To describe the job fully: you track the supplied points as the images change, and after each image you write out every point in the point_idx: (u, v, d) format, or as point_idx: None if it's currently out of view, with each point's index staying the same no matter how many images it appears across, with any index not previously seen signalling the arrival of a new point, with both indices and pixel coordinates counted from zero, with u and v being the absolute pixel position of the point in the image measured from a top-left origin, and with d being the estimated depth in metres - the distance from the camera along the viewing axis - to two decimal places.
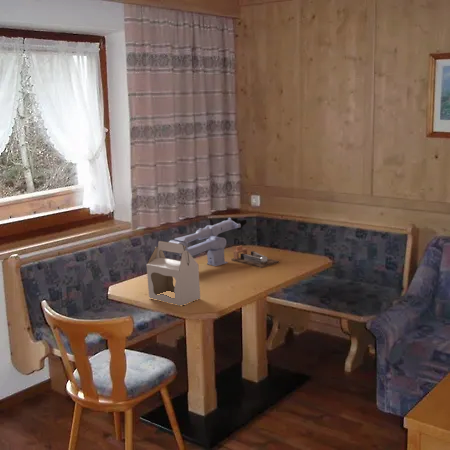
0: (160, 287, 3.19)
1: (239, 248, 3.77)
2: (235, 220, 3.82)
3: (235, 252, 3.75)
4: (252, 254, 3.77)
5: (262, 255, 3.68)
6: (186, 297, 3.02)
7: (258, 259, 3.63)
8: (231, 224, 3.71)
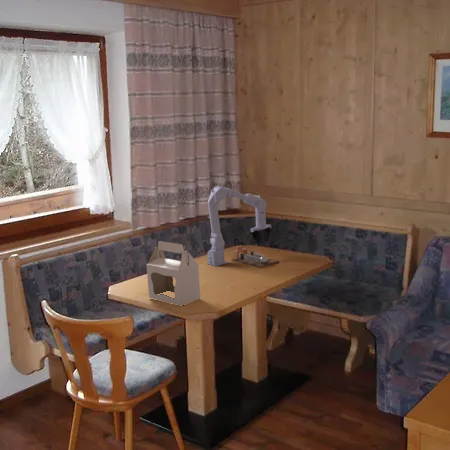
0: (160, 287, 3.19)
1: (239, 248, 3.77)
2: (265, 238, 3.80)
3: (235, 252, 3.75)
4: (252, 254, 3.77)
5: (262, 255, 3.68)
6: (186, 297, 3.02)
7: (258, 259, 3.63)
8: (258, 225, 3.74)
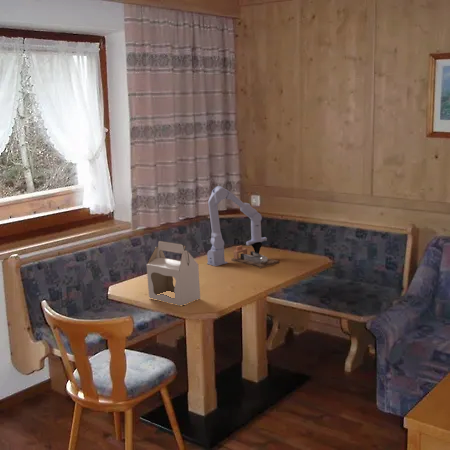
0: (160, 287, 3.19)
1: (239, 248, 3.77)
2: (256, 252, 3.76)
3: (235, 252, 3.75)
4: (252, 254, 3.77)
5: (262, 255, 3.68)
6: (186, 297, 3.02)
7: (258, 259, 3.63)
8: (253, 239, 3.73)
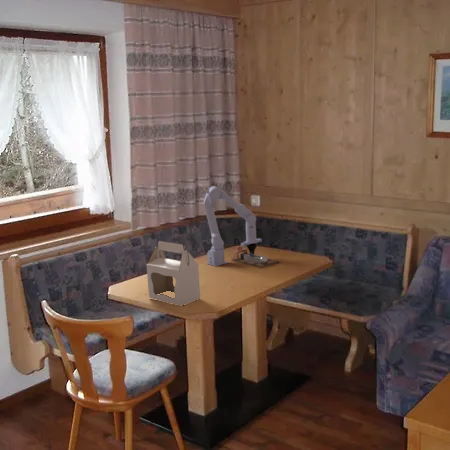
0: (160, 287, 3.19)
1: (239, 248, 3.77)
2: (251, 253, 3.74)
3: (235, 252, 3.75)
4: None
5: None
6: (186, 297, 3.02)
7: (258, 259, 3.63)
8: (248, 240, 3.70)
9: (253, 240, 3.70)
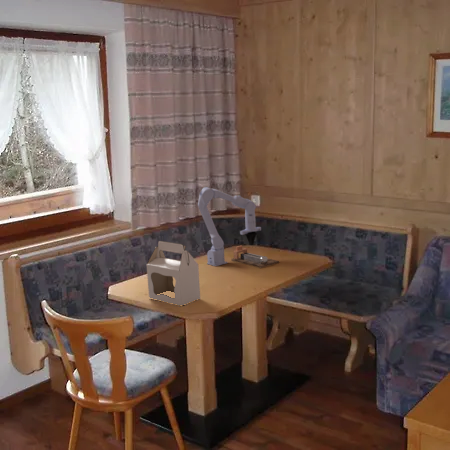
0: (160, 287, 3.19)
1: (239, 248, 3.77)
2: None
3: (235, 252, 3.75)
4: None
5: None
6: (186, 297, 3.02)
7: (258, 259, 3.63)
8: (247, 228, 3.69)
9: (252, 228, 3.68)
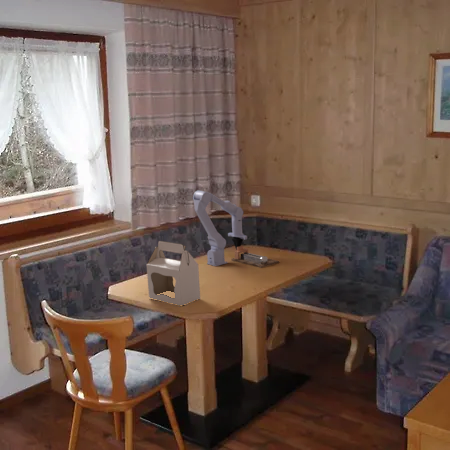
0: (160, 287, 3.19)
1: (240, 248, 3.77)
2: None
3: (236, 252, 3.74)
4: None
5: None
6: (186, 297, 3.02)
7: (258, 259, 3.63)
8: (241, 233, 3.75)
9: None
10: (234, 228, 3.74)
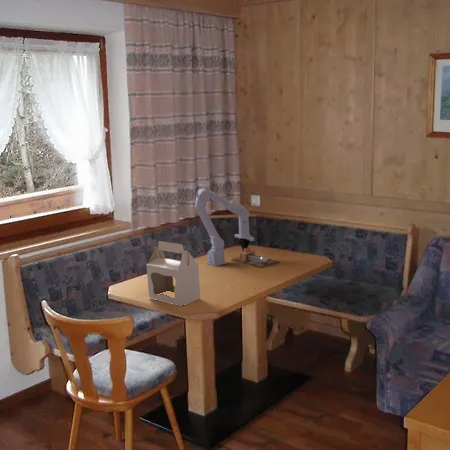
0: (160, 287, 3.19)
1: (247, 250, 3.72)
2: None
3: (243, 254, 3.70)
4: None
5: None
6: (186, 297, 3.02)
7: (258, 259, 3.63)
8: (248, 234, 3.71)
9: None
10: (241, 229, 3.69)
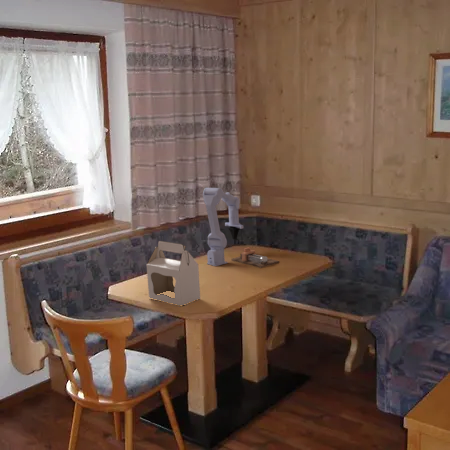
0: (160, 287, 3.19)
1: (247, 250, 3.72)
2: None
3: (243, 254, 3.70)
4: None
5: None
6: (186, 297, 3.02)
7: (258, 259, 3.63)
8: (237, 222, 3.85)
9: None
10: (231, 218, 3.84)
